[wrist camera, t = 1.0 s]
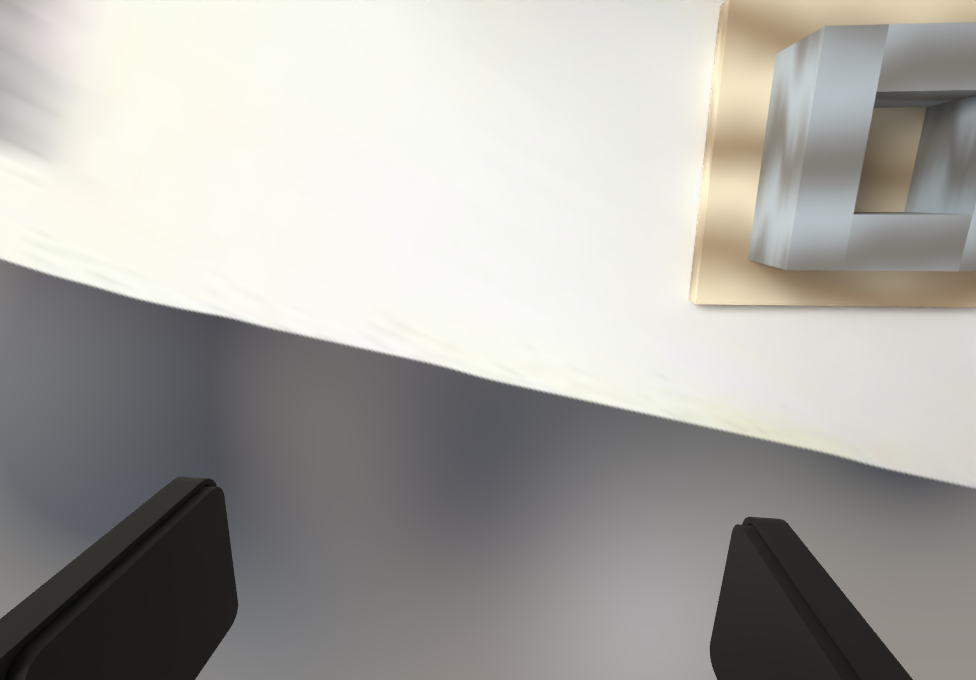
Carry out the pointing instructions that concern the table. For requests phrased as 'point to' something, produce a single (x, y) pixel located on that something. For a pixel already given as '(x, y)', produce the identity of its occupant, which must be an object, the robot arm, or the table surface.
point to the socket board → (743, 152)
